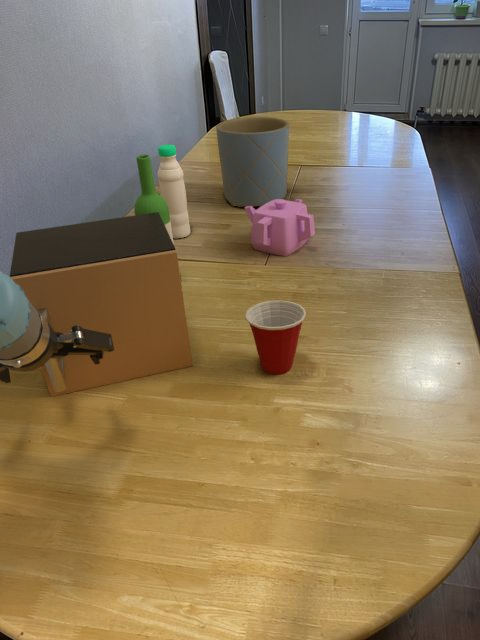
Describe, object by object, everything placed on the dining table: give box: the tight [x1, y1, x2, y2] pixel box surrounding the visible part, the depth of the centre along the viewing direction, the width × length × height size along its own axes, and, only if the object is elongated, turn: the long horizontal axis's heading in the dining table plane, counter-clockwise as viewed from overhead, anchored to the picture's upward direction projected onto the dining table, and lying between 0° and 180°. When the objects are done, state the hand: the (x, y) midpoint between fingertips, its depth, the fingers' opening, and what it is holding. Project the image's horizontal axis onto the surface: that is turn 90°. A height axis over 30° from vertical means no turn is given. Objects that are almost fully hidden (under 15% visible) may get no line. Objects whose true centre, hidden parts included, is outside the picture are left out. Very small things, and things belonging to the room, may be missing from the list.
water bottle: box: [157, 143, 191, 240], centre depth 144 cm, size 7×7×25 cm
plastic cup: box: [245, 299, 307, 376], centre depth 95 cm, size 11×11×12 cm
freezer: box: [9, 212, 177, 277], centre depth 97 cm, size 18×26×24 cm
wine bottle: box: [134, 154, 175, 245], centre depth 119 cm, size 8×8×30 cm
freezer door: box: [9, 250, 194, 398], centre depth 87 cm, size 8×26×24 cm, turn 108°
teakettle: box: [244, 198, 316, 257], centre depth 140 cm, size 17×17×12 cm
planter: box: [215, 116, 290, 208], centre depth 168 cm, size 23×23×24 cm
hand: (52, 365), depth 83 cm, fingers open, 13 cm apart
